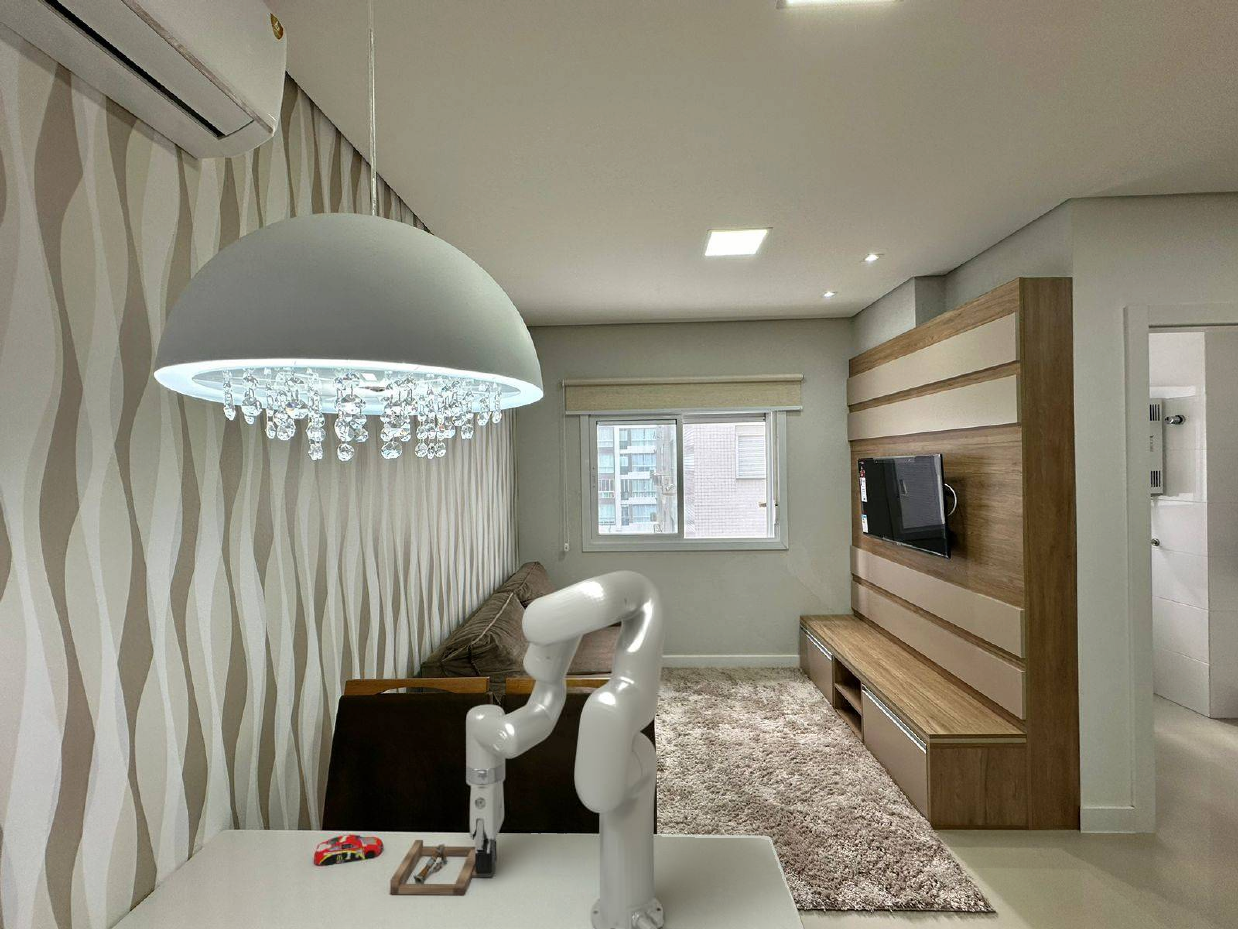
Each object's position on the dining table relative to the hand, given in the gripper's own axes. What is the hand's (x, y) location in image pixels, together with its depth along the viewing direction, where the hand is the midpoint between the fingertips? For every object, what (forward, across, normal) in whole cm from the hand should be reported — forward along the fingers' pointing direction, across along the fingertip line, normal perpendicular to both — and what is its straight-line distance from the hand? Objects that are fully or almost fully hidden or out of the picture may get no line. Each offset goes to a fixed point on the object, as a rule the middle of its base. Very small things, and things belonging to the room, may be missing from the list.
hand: (486, 866), depth 132 cm
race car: (+2, +6, +30) cm, 30 cm away
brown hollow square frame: (+1, 0, +7) cm, 7 cm away
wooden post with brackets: (+2, 0, +11) cm, 11 cm away
